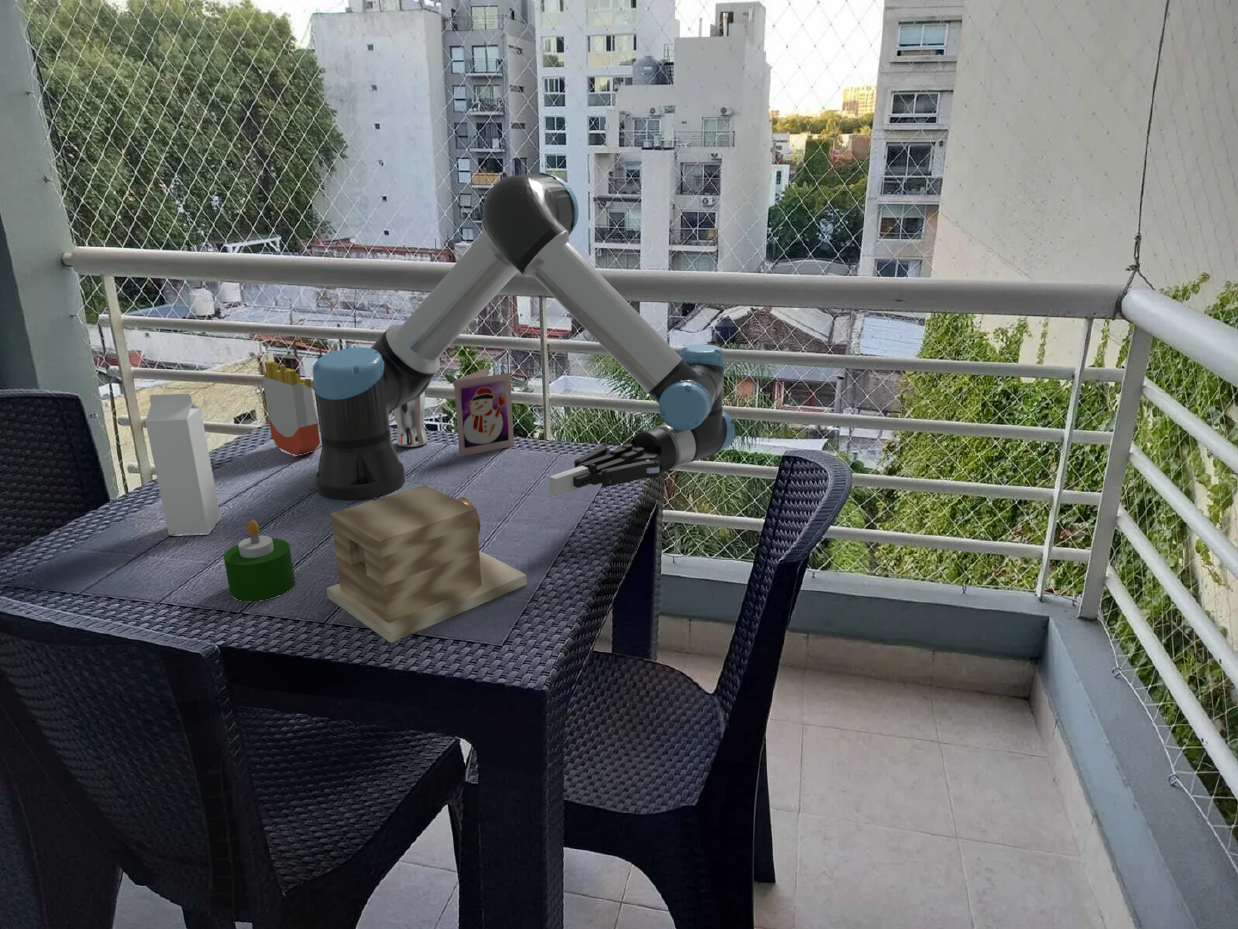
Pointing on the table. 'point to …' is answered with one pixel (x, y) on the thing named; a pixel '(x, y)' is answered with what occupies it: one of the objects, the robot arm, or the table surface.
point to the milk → (182, 464)
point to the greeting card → (483, 412)
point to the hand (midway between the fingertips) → (553, 486)
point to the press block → (413, 562)
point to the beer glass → (411, 423)
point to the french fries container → (290, 409)
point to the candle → (259, 567)
